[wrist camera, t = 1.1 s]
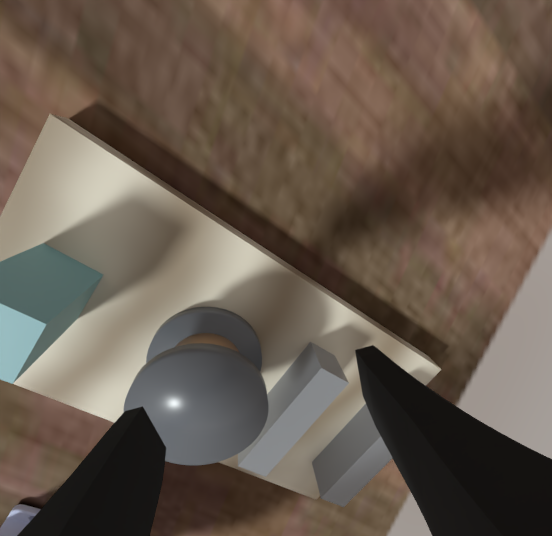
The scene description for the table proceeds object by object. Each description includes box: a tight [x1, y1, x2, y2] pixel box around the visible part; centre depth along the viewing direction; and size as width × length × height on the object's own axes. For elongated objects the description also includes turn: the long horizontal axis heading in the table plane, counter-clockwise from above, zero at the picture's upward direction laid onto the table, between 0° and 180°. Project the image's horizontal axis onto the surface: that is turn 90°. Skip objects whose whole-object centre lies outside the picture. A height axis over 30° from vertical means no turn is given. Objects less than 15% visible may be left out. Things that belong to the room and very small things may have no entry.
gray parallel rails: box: [238, 342, 392, 507], centre depth 19 cm, size 8×8×2 cm
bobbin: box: [124, 307, 269, 465], centre depth 16 cm, size 6×6×4 cm
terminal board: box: [0, 114, 441, 499], centre depth 19 cm, size 26×14×2 cm, turn 54°
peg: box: [0, 243, 103, 384], centre depth 13 cm, size 3×3×5 cm
